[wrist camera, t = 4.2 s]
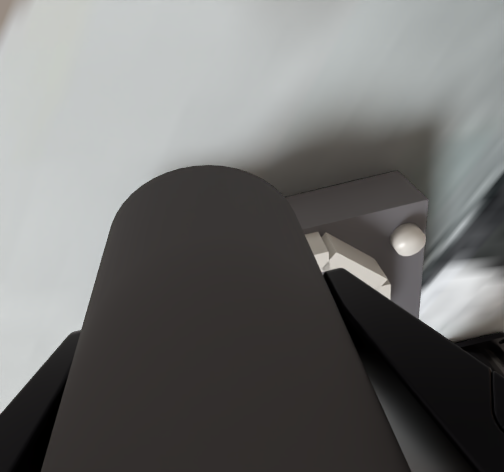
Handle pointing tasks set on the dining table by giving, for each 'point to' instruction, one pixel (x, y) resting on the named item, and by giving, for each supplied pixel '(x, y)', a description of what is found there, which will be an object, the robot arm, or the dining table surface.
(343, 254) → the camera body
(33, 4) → the dining table surface
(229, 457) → the lens
